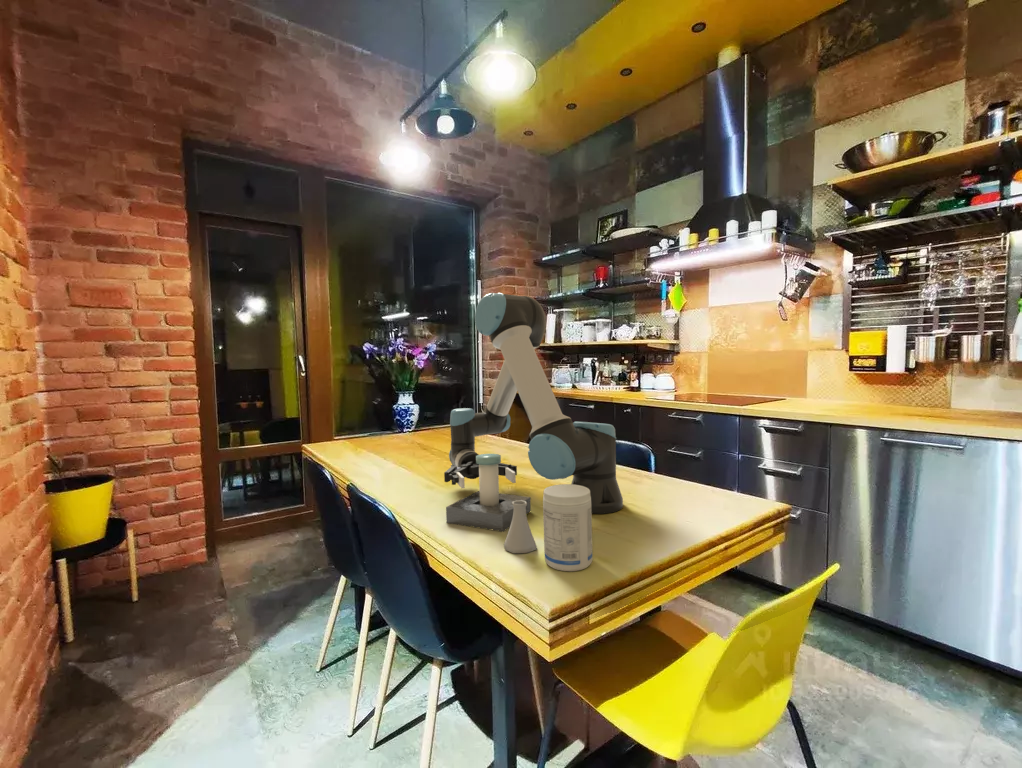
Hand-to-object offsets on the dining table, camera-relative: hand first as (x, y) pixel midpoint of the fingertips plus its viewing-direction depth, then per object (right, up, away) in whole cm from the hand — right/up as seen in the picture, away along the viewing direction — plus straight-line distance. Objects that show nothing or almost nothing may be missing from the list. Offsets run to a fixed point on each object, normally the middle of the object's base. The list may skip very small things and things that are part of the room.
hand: (489, 480), depth 122 cm
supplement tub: (+17, -11, -27) cm, 34 cm away
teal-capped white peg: (0, -10, +2) cm, 10 cm away
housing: (0, -10, +2) cm, 10 cm away
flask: (+8, -11, -19) cm, 23 cm away
